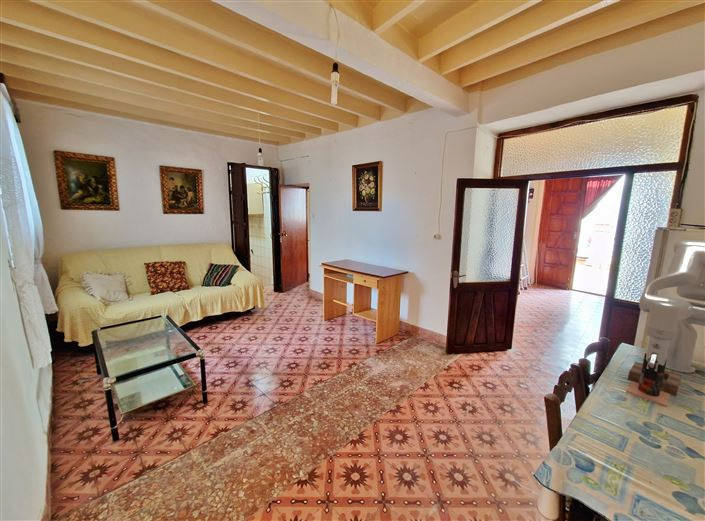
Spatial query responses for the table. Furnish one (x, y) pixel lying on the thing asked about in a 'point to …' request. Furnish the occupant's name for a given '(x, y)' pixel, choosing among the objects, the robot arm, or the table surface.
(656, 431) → the table surface
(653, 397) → the tile
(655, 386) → the deodorant
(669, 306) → the robot arm
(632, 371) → the holder block
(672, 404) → the table surface
